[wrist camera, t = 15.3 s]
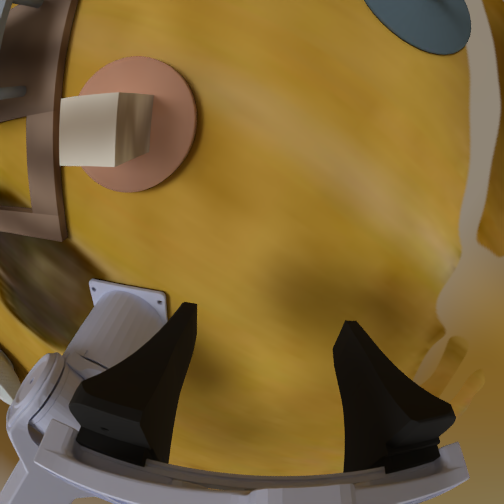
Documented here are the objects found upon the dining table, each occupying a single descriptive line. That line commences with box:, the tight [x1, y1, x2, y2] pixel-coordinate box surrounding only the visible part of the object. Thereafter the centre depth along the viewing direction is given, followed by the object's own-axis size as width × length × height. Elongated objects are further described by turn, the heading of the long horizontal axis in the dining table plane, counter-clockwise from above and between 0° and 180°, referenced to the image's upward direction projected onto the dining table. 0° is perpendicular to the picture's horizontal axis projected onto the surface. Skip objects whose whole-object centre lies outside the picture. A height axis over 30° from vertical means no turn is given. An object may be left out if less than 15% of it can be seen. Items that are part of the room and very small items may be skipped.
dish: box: [78, 56, 197, 192], centre depth 17 cm, size 10×10×1 cm
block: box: [59, 92, 154, 167], centre depth 14 cm, size 4×4×5 cm
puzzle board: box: [0, 0, 78, 242], centre depth 15 cm, size 24×16×1 cm, turn 172°
